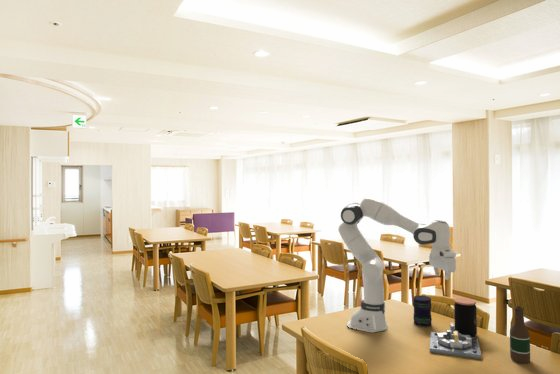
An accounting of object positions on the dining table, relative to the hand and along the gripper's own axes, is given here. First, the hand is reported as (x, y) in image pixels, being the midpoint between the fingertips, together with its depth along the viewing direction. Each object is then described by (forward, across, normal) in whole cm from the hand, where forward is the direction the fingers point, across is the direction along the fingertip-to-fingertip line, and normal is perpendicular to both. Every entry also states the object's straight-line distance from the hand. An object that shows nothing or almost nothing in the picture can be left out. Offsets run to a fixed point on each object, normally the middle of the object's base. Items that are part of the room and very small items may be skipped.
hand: (441, 277), depth 204 cm
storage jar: (+31, -19, -2) cm, 37 cm away
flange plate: (+31, +13, -2) cm, 34 cm away
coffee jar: (+31, -1, +13) cm, 34 cm away
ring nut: (+29, +13, -2) cm, 32 cm away
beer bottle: (+31, +32, +19) cm, 48 cm away
